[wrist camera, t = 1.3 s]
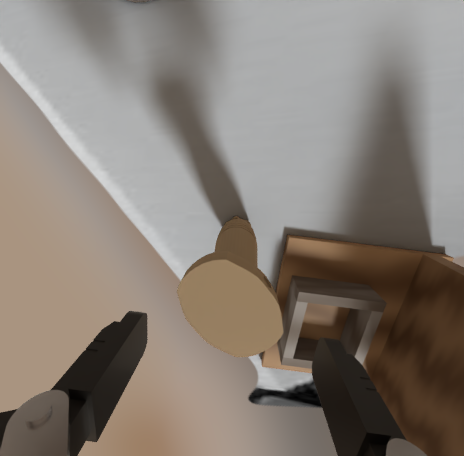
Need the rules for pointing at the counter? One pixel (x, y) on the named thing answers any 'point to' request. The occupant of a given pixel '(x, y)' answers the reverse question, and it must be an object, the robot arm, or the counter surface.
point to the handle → (232, 295)
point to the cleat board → (381, 328)
